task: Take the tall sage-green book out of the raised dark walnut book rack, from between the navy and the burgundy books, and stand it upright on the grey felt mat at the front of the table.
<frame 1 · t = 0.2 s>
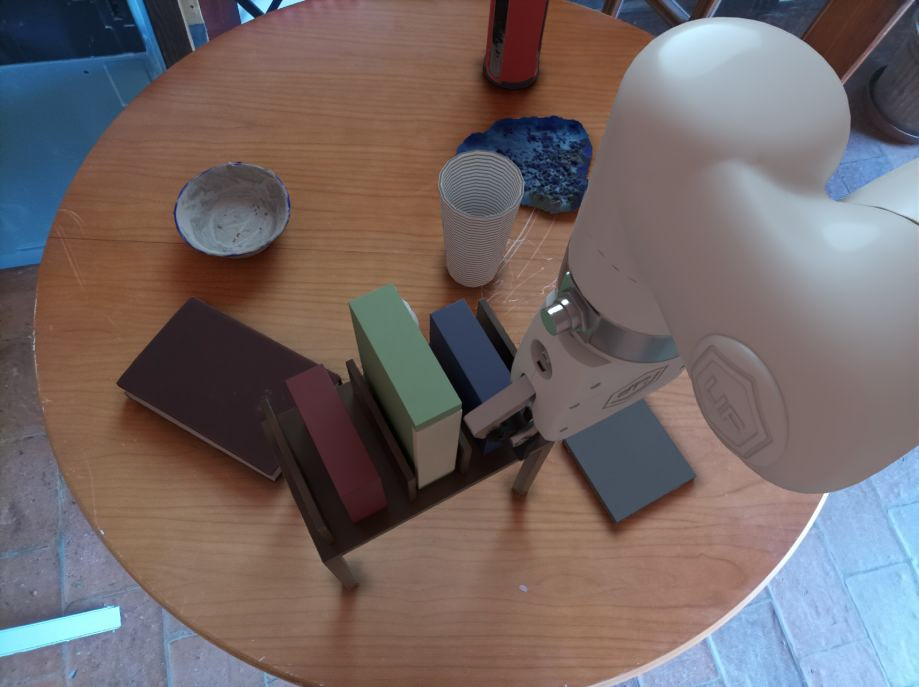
hand: (572, 408, 48), 26 cm above the table, tool pointing down, fingers open, 9 cm apart
bowl: (242, 231, 83), on the table
cup: (472, 267, 83), on the table
book: (236, 391, 75), on the table
navy book: (470, 399, 56), point 18 cm above the table
mat: (627, 459, 73), on the table
rack: (413, 486, 71), on the table
rock: (522, 167, 89), on the table
pill bottle: (396, 354, 77), on the table
green book: (409, 430, 55), point 18 cm above the table, touching rack
burgundy book: (345, 462, 53), point 18 cm above the table, touching rack
speaker: (510, 71, 96), on the table
donut: (683, 227, 86), on the table
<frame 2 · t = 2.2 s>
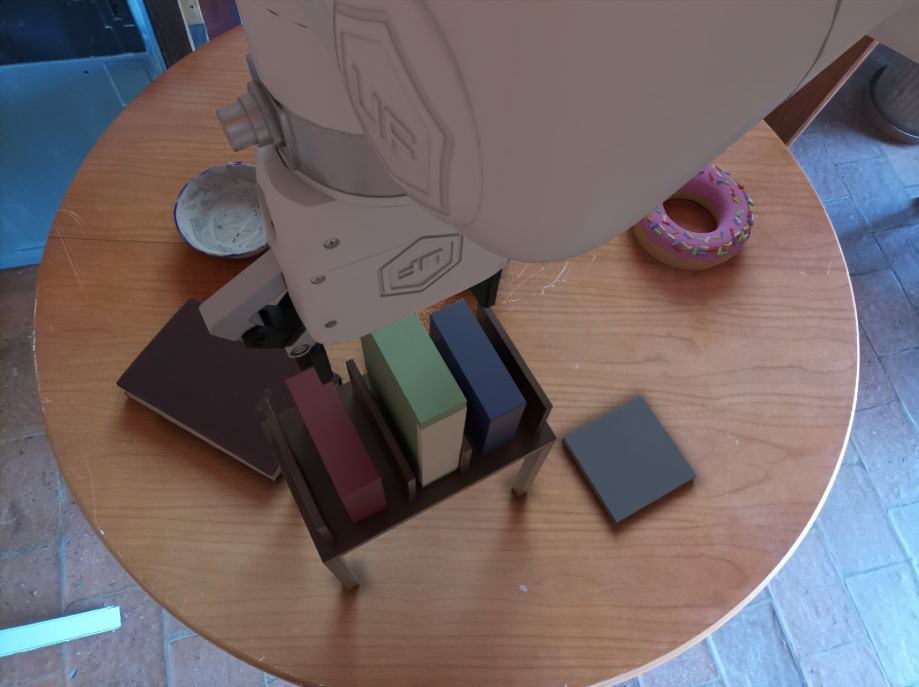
hand: (398, 322, 38), 36 cm above the table, tool pointing down, fingers open, 9 cm apart
navy book: (470, 400, 56), point 18 cm above the table, touching rack
everything else where it was.
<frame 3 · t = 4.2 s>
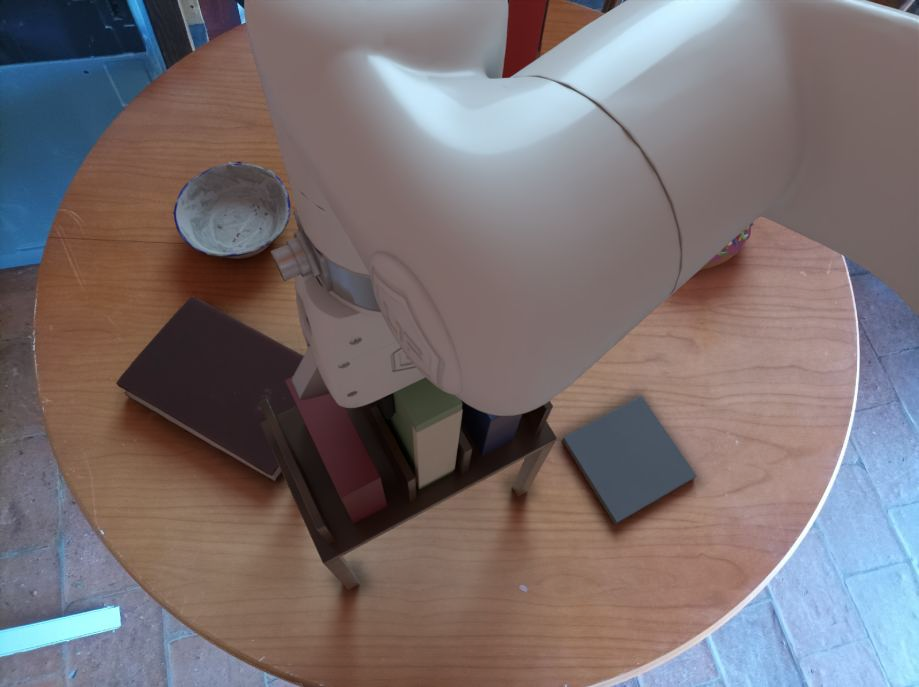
hand: (406, 384, 46), 28 cm above the table, tool pointing down, fingers closed on green book, 3 cm apart
green book: (409, 430, 55), point 18 cm above the table, touching gripper, rack
everything else where it was.
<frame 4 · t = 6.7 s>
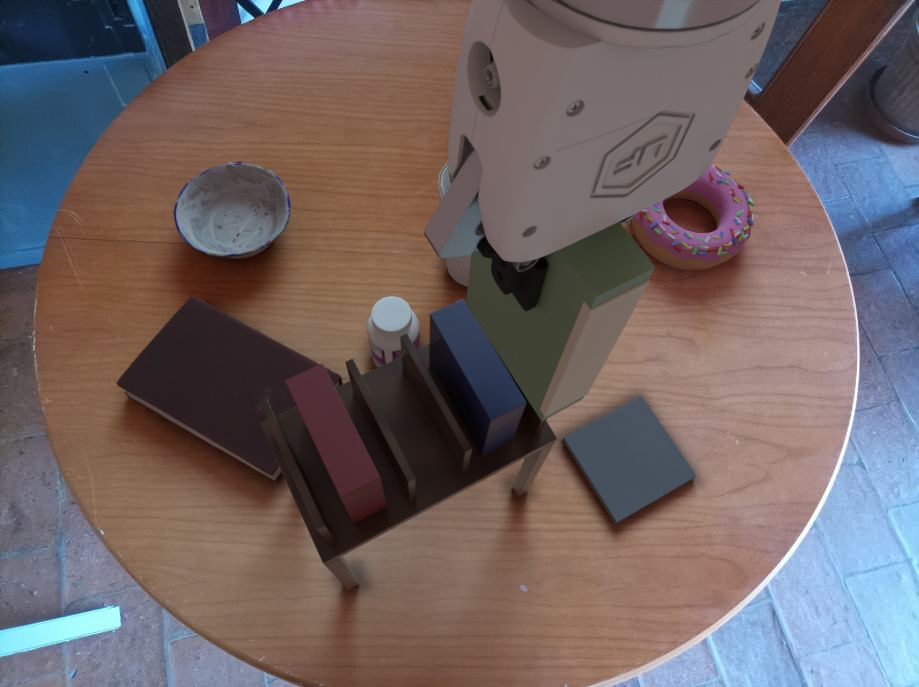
hand: (546, 269, 35), 41 cm above the table, tool pointing down, fingers closed on green book, 3 cm apart
green book: (522, 350, 43), point 31 cm above the table, touching gripper
everything else where it was.
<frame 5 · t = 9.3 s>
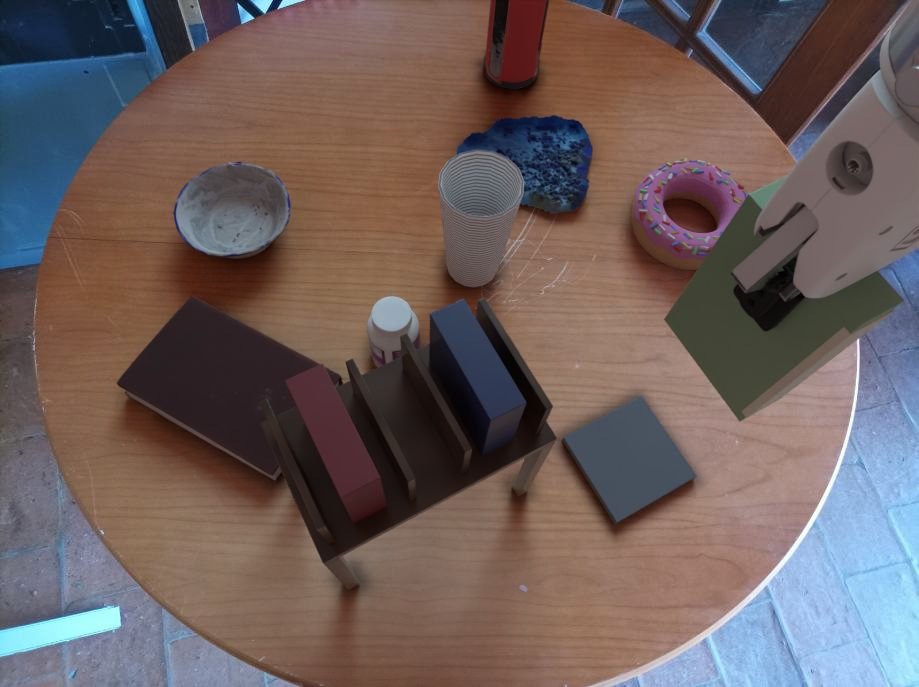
hand: (777, 295, 42), 35 cm above the table, tool pointing down, fingers closed on green book, 3 cm apart
green book: (716, 360, 50), point 25 cm above the table, touching gripper
everything else where it was.
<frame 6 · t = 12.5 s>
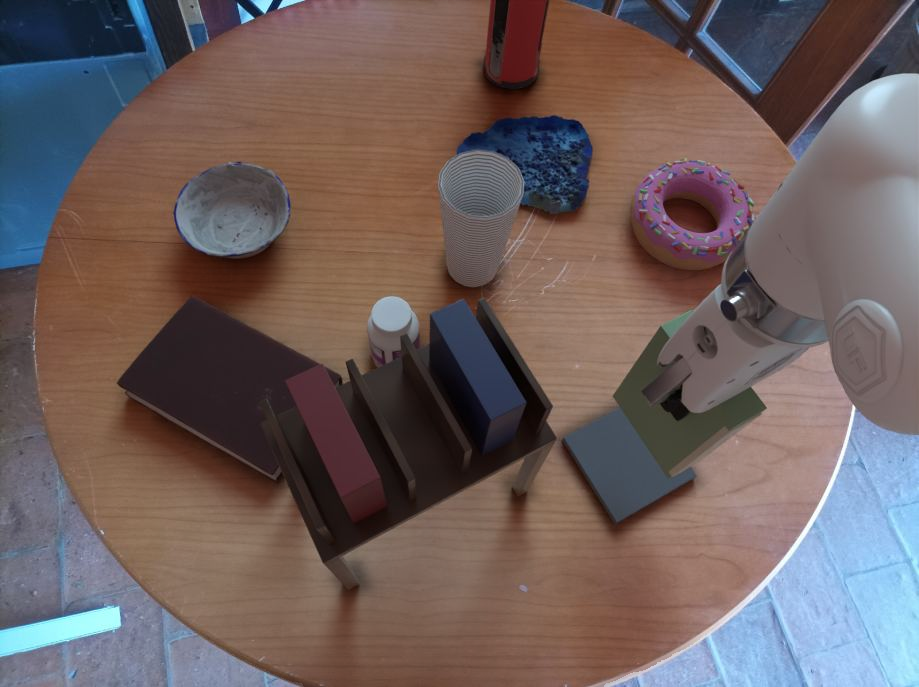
hand: (688, 392, 56), 19 cm above the table, tool pointing down, fingers closed on green book, 3 cm apart
green book: (652, 429, 65), point 9 cm above the table, touching gripper
everything else where it was.
when the fingers open (11 cm above the table, at t = 14.7 s): green book stays where it is, resting on mat.
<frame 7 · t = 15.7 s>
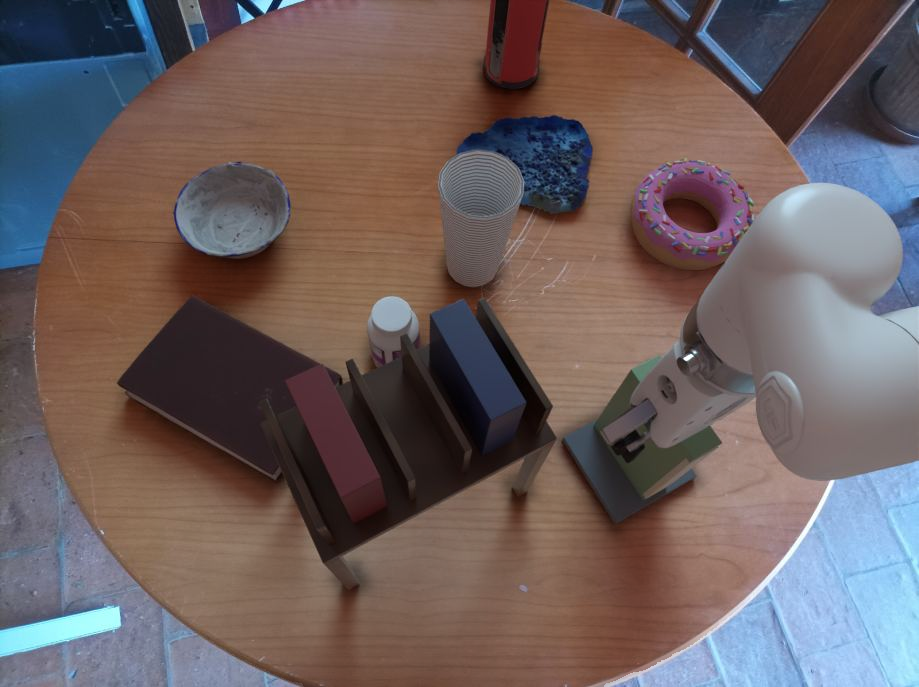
hand: (664, 422, 62), 13 cm above the table, tool pointing down, fingers open, 9 cm apart
green book: (629, 455, 72), point 1 cm above the table, touching mat
everything else where it was.
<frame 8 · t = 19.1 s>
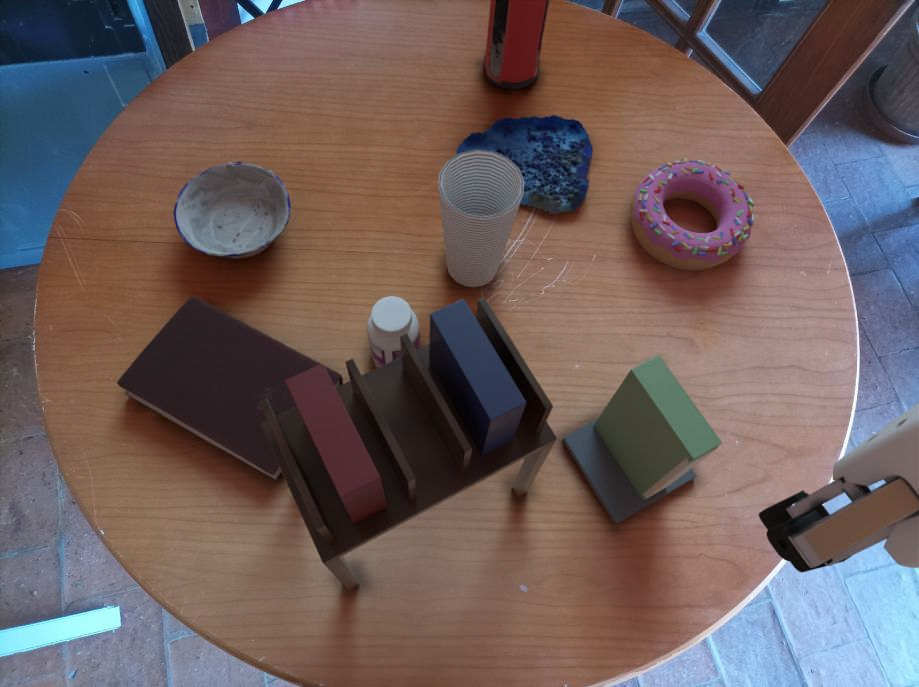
hand: (855, 493, 35), 36 cm above the table, tool pointing down, fingers open, 9 cm apart
nothing on the table moved.
at the end: green book inside the target area on the mat (0.1 cm from its centre), point 1.0 cm above the mat's base; green book touching mat; navy book moved 0.1 cm from its start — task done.
